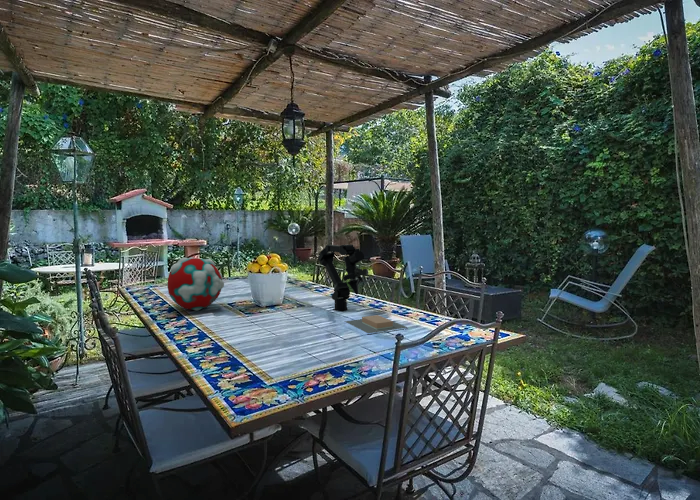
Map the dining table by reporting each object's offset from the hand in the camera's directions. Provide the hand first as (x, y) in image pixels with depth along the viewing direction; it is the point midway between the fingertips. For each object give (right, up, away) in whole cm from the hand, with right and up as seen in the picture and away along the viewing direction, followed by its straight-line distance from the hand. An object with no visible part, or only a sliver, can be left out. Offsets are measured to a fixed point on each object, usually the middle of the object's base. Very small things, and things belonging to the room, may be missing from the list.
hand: (357, 294), depth 222 cm
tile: (+6, -11, -15) cm, 19 cm away
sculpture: (-92, -11, +16) cm, 94 cm away
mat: (+9, -14, -19) cm, 25 cm away
